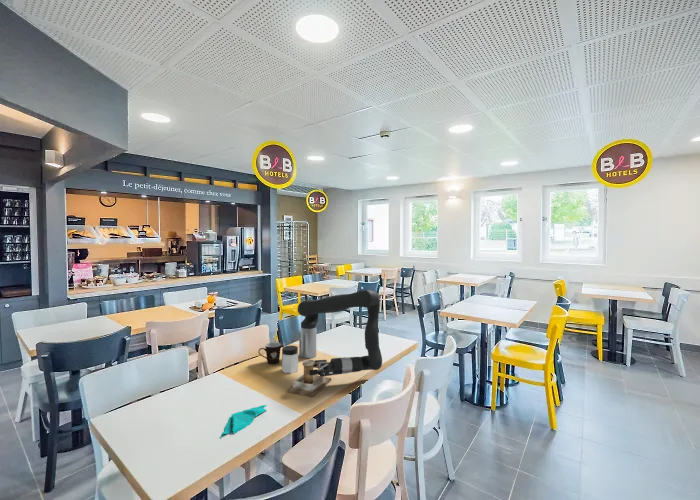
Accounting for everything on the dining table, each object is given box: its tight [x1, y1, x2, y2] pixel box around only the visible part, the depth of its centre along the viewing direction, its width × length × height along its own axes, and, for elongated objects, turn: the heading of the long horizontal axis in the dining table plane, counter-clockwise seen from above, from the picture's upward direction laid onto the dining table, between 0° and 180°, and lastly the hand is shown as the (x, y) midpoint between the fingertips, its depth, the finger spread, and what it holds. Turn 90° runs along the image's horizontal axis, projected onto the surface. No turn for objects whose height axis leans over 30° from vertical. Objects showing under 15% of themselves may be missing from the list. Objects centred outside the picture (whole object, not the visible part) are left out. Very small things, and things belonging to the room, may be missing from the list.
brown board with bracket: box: [286, 373, 332, 398], centre depth 160 cm, size 13×19×4 cm
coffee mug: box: [258, 342, 282, 365], centre depth 189 cm, size 12×9×10 cm
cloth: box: [219, 404, 268, 440], centre depth 130 cm, size 26×14×2 cm, turn 144°
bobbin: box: [301, 359, 315, 384], centre depth 158 cm, size 6×6×11 cm
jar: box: [281, 344, 299, 374], centre depth 178 cm, size 9×8×12 cm
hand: (307, 369), depth 158 cm, fingers open, 8 cm apart
